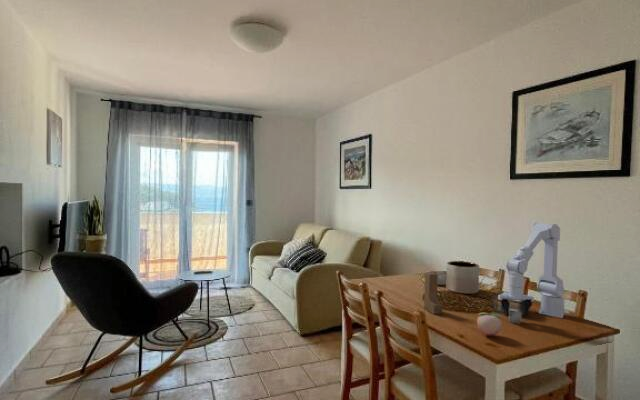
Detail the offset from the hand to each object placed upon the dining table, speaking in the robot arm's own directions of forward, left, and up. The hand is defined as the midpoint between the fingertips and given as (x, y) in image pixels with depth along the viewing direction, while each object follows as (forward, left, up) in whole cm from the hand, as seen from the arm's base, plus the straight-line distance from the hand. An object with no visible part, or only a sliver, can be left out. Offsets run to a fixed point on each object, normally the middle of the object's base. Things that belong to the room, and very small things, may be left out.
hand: (515, 316), depth 158 cm
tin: (+50, -38, -3) cm, 63 cm away
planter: (+35, -35, -3) cm, 50 cm away
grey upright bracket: (+33, +12, -3) cm, 35 cm away
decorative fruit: (+4, +25, -3) cm, 25 cm away
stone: (0, 0, -3) cm, 3 cm away
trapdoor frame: (+5, -15, -2) cm, 16 cm away
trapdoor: (+3, -15, 0) cm, 15 cm away
